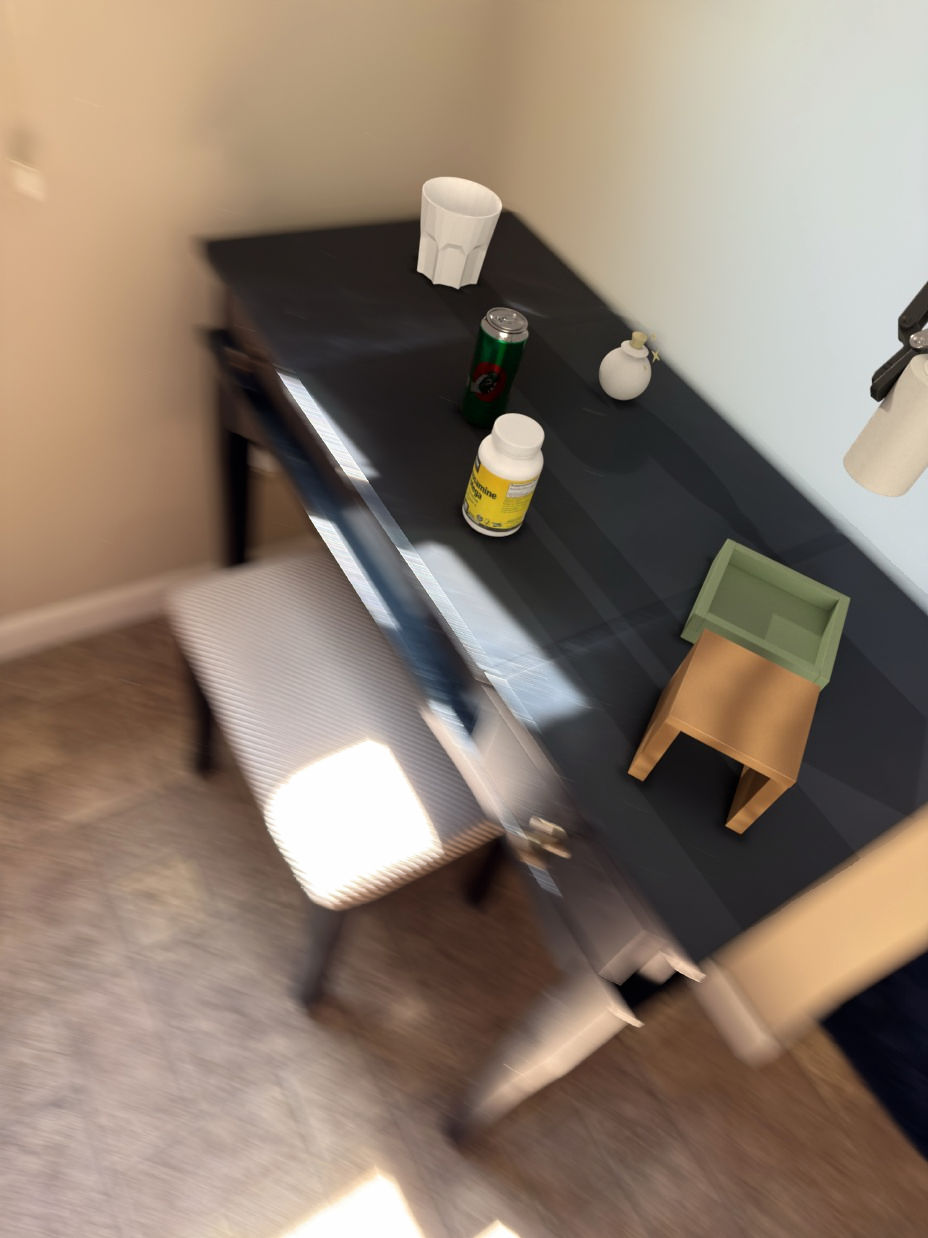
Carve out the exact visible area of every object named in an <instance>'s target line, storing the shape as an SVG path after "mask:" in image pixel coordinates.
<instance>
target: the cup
mask: <svg viewBox="0 0 928 1238" xmlns="http://www.w3.org/2000/svg"><path fill="white" fill-rule="evenodd" d="M420 207H421V208H420V238H419V249H418V257H417V258H418V259H417V268H416V271H417V272H418V273H420V274H423V275H424V276H426V277H427V279H429V280H431V282H432V284H433V285H442V286H443V285H444V286H447V287H452V288H454V289H457V290H459V289H460V288H461V287H465V286H467V285H477V283H478V280H479V278H480V273H481V270H482V267H483V263H484V261H485V257H486V254H487V251H488V248H489V245H490V242H491V240H492V237H493V235H494V232H495V229H496V226H497V224H498V221H499V218H500V216H501V212H502V209H503V203H502V200H501V198H500V197H499V196H498V195H497V194H496V193H495V192H494V191H492V189H490V188H489V187H487V186H485V185H483V184H480V183H478V182H476V181H473V180H470V179H465V178H461V177H456V176H437V177H433V178H430V179H428V180H427V181H425V182H424V184H423V185H422V189H421V206H420Z"/></svg>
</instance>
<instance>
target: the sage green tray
mask: <svg viewBox="0 0 928 1238" xmlns="http://www.w3.org/2000/svg"><path fill="white" fill-rule="evenodd" d="M850 603H851V597H849V596H847V595H845V594H843V593H841V592H839V591H837V590H835V589H833V588H831V587H830V586H828V585H825V584H822V583H821V582H819V581H817V580H814V579H812V578H811V577H808V576H806V575H805V574H802V573H800V572H798V571H796V570H794V569H792V568H790V567H788V566H786V565H785V564H782V563H780V562H778V561H776V560H773V559H772V558H770V557H767V556H765V555H763V554H761V553H759V552H757V551H755V550H753V549H751V548H748V547H747V546H745V545H743V544H741V543H738V542H736V541H735V540H733V539H730V538H727V539H726V540H725V542H724V543H723V545H722V547H721V549H719V551H718V553H717V555H716V556H715V558H714V560H713V561H712V563H711V565H710V568H709V570H708V573H707V575H706V577H705V580H704V581H703V584H702V586H701V589H700V590H699V593H698V595H697V597H696V600H695V602H694V604H693V607H692V608H691V611H690V613H689V616H688V618H687V620H686V622H685V625H684V627H683V629H682V632H681V634H680V638H682V639H684V640H685V641H687V642H689V643H691V644H693V645H694V644H695V643H696V641H697V640H698V638H699V637H700V635H701V633H702V632H703V630H704V629H705V628H706V629H708V630H710V631H712V632H714V633H716V634H718V635H720V636H722V637H724V638H725V639H727V640H729V641H731V642H733V643H735V644H737V645H739V646H741V647H743V648H745V649H747V650H749V651H751V652H753V653H755V654H757V655H759V656H761V657H763V658H765V659H767V660H769V661H771V662H773V663H775V664H777V665H779V666H781V667H783V668H785V669H787V670H789V671H791V672H793V673H795V674H797V675H798V676H800V677H802V678H804V679H806V680H808V681H810V682H812V683H814V684H816V685H818V686H820V687H821V688H820V692H821V691H823V690H824V688H825V687H826V686H827V685H828V684H829V683H830V680H831V676H832V673H833V669H834V665H835V661H836V657H837V653H838V649H839V645H840V641H841V637H842V634H843V629H844V626H845V623H846V618H847V614H848V611H849V606H850Z"/></svg>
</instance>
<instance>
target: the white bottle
mask: <svg viewBox="0 0 928 1238" xmlns="http://www.w3.org/2000/svg"><path fill="white" fill-rule="evenodd" d="M842 464H843V467H844V469H845V471H846V473H847V474H848V476H849V477H850V478H851V479H852V480H853V481H854V482H856V484H858V485H859V486H861V487H862V488H864V489H865V490H867V491H869V492H871V493H874V494H876V495H879V496H882V497H888V498H898V497H901V496H904V495H906V494H907V493H908V492H909V491H910V489H911V488H912V487H913V486H914V484H915V483H916V482H917V481H918V479H919V478H920V477H921V476H922V474H923V473H924V472H925V471H926V470H927V468H928V354H920V355H917V356H915V357H913V359H912V360H911V361H910V363H909V364H908V366H907V367H906V368H905V370H904V371H903V373H902V374H901V376H900V377H899V378H898V380H897V381H896V383H895V384H894V386H893V387H892V388H891V390H890V391H889V393H888V394H887V396H886V397H885V398H884V399H883V400H882V401H881V403H880V404H879V405H878V407H877V408H876V410H875V411H874V413H873V414H872V415H871V417H870V418H869V420H868V421H867V422H866V424H865V425H864V427H863V428H862V430H861V431H860V432H859V434H858V436H857V437H856V438H855V440H854V441H853V443H851V446H850V447H849V449H848V450H847V451H846V453H845V454H844V456H843V460H842Z"/></svg>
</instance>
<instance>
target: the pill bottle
mask: <svg viewBox="0 0 928 1238" xmlns="http://www.w3.org/2000/svg"><path fill="white" fill-rule="evenodd" d="M544 440H545V431H544V429H543V427H542V426H541V425H540V424H539V422H537V421H536V420H534V419H533V418H531V417H530V416H527V415H524V414H522V413H521V414H520V413H514V412H513V413H505V415H502V416H500V417H499V418H498V419H497V420H496V421H495V424H494V426H492V430H491V433H490V434H489V435H487V436H486V437H485V438H484V439H483V440H482V441H481V443H480V445H479V447H478V450H477V453H476V457H475V460H474V464H473V467H472V471H471V475H470V478H469V482H468V484H467V487H466V492H465V494H464V495H465V496H464V499H463V503H462V514H463V517H464V519H465V521H466V522H467V523H468V524H469V526H470V527H471V528H472V529H474V530H475V531H476V532H478V533H481V534H483V535H486V536H489V537H506V536H509V535H512V534H514V533H516V532H517V531H518V530H520V528H521V526H522V525H523V522H524V519H525V516H526V513H527V511H528V509H529V507H530V503H531V500H532V498H533V495H534V492H535V490H536V486H537V484H538V481H539V478H540V475H541V474H542V470H543V468H544V467H543V466H544V455H543V452H542V450H541V449H542V446H543V443H544Z"/></svg>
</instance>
